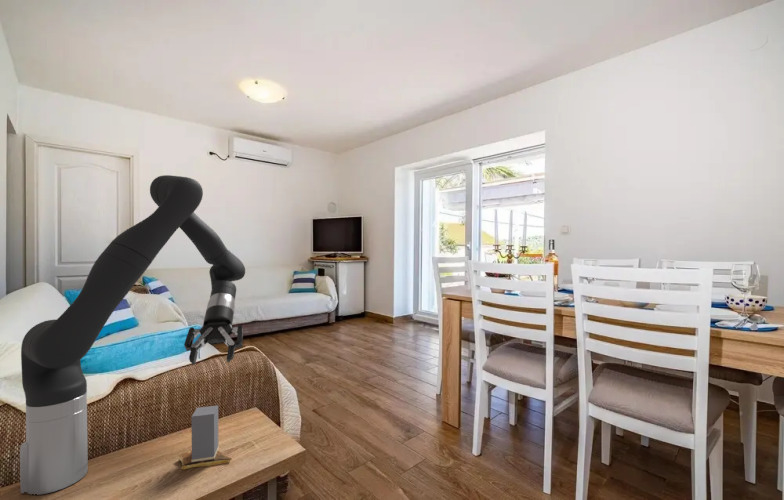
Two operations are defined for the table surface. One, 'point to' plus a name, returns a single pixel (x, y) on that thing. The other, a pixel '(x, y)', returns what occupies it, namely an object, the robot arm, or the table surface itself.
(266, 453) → the table surface
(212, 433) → the sanding block
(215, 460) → the shard
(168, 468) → the table surface
